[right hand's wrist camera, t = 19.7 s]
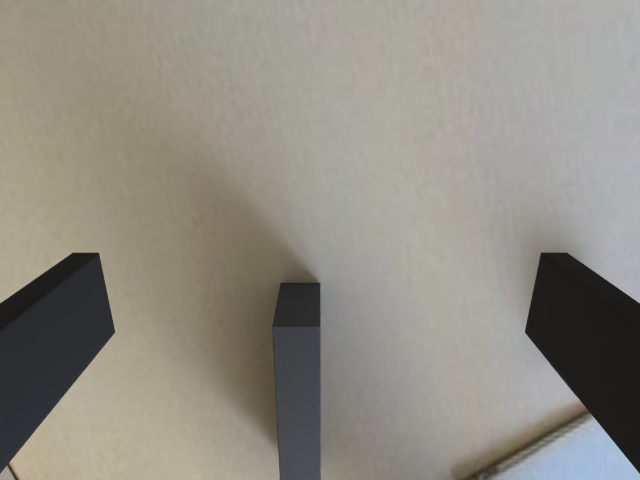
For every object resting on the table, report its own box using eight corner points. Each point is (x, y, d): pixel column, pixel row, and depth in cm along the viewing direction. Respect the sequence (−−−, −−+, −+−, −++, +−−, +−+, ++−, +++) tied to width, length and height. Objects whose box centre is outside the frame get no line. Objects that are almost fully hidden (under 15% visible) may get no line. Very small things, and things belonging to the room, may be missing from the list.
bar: (280, 283, 42) (272, 326, 35) (320, 282, 42) (320, 326, 35) (287, 459, 51) (282, 525, 43) (320, 459, 51) (320, 525, 43)
